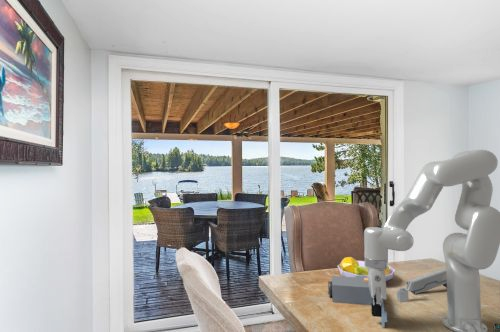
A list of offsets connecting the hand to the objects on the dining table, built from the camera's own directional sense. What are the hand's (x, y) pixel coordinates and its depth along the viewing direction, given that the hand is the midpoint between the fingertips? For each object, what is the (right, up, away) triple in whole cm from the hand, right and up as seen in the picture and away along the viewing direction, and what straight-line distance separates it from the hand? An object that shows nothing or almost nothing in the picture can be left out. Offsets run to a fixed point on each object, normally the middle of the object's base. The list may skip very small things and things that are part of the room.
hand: (376, 315), depth 110 cm
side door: (+5, -3, +5) cm, 8 cm away
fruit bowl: (+12, -4, +45) cm, 47 cm away
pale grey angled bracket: (+20, -3, +19) cm, 28 cm away
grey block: (0, -4, +23) cm, 23 cm away
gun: (+37, -4, +28) cm, 47 cm away
